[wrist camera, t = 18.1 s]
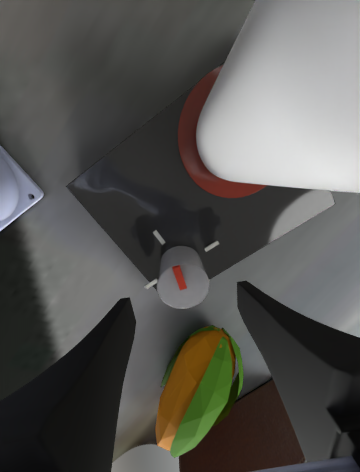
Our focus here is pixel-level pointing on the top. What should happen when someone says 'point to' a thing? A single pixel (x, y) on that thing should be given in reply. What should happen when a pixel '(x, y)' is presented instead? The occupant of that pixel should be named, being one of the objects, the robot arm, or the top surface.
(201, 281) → the knob
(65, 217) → the top surface
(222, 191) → the burner ring
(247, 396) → the letter holder
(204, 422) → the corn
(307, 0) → the can
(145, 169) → the hob
